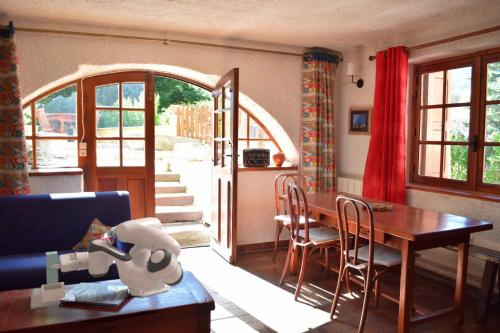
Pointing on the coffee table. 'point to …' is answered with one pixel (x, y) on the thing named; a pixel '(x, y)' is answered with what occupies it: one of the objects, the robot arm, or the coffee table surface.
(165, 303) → the coffee table surface
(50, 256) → the teal block
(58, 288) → the white block stand
